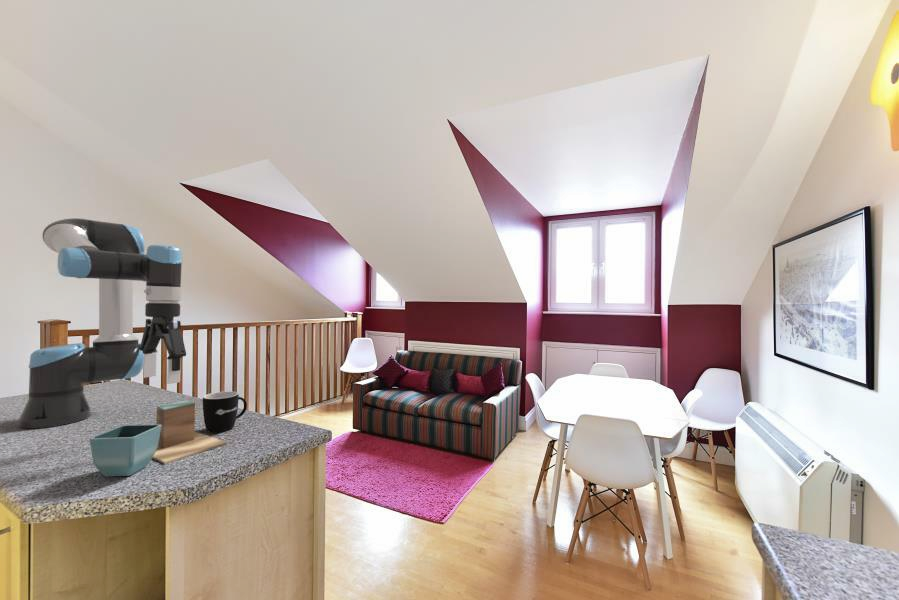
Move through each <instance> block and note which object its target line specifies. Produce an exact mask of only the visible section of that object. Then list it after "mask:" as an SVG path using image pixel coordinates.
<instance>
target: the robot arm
mask: <svg viewBox="0 0 899 600" xmlns="http://www.w3.org/2000/svg"><path fill="white" fill-rule="evenodd" d="M42 241H43V242H44V244H45V245H46V246H47V248H49V249H50V250H51V251H53V252H55V253H58V256H57V269H58V274H60V275H61V276H62V277H65V278H66V277H67V278H77V279H98V294H99V295H98V305H99V306H98V337H97V338H95V339H94V340H93V341H92V347H91V346H90V347H88V346H87V347H86V344H85V343H82V342H81V343H68V344H61V345H55V346H49V347H48V346H47V347H43V348H40V349H36V350H34V351H33V352H32V353H30V355H29V363H28V368H29V379H28V400H27V402H26V404H25V406H24V408H23V411H22V413H21V414H20V417H19V418H18V419H19V420H18V427H19V428H22V429H41V428H49V427H57V426H64V425H69V424H73V423H76V422H80V421H83V420H86V419H87V418H90V417H91V413H92V412H91V411H92V409H91V407H90V404H89V402H88V399H87V397H86V395H85V393H84V385H85V384H90V383H100V382H107V381H108V382H109V381H117V380H120V381H121V380H124V379H129V378H134V377H136V376H138V375H139V374H140V373H141V372H142V370H143V372H142V374H143V375H142V377H143V378H144V379H145V378H152V377H157V355H158V350H157V348H158V346H159V344H160V342H161V340H163V342H164V345H165V348H166V350H167V354H168V356H167V358H166V360H167V367H166V368H167V373H166V374H167V375H166V384H167V385H171V384H177V383H181V369H182V368H181V367H182V366H181V365H182V364H181V363H182V361H181V360H182V358H183V357H186V356H187V351H186V347H185V342H184V338H183V337H184V336H183V333H182V325H181V323H182V322H181V320H174V318H177V317H180V316H181V304H180V303H179V302H180V301H182V300H181V299H182V298H181V297H182V296H181V295H182V287H181V286H182V285H181V284H182V263H183V258H182V250H181V248H179V247H177V246H172V245H161V244H152V245H148V246H147V249H146V245H145V239H144V236H143V234H142V232H141V231H140V230H139V228H137V227H135V226H133V225H132V226H131V225H126V224H124V223H123V224H122V223H115V222H107V221H100V220H99V221H98V220H93V219H92V220H91V219H86V218H64V219H60V220H56V221H54V222H51V223H50V224H48V225H47V226H45V228H44V229H43V230H42ZM145 251H146V254H145ZM133 281H138V282H140V281H141V282H145V285H146V286H145V288H146V289H144V290H143V292H144V293H145V301H147V303H145V306H144V307H145V308H144V309H145V313H144V314H145V315H144V316H145V317H148V318H146V319H145V327H144V330H143V335H142V337H141V338H142V339H141V342H140V343H139V338H138V337H136V336H135V335H134V331H133V327H134V326H133V325H134V324H133V321H134V320H133V317H134V316H133V306H134V305H133V300H134V299H133V294H134V293H133V292H134V291H133Z"/></svg>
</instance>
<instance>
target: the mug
mask: <svg viewBox="0 0 899 600" xmlns="http://www.w3.org/2000/svg"><path fill="white" fill-rule="evenodd" d="M239 400H240V401H242V403H243V409H242V410H241V412H240V413H239V414H238V408H239ZM247 407H248V402H247V400H246V399H245V397H244V398H243V397H242V396H239V393H238V392H237V391H230V390H229V391H227V390H226V391H217V392H211V393H208V394H205V395H204V396H202V414H203V422H204V427H205V430H206V431H207V432H208V433H211V434H218V433H224V432H228V431H230V430H232V429H233V428H234V427H235V425H236V421H237V420H238V419H239V418H241V417H242V416H243V415H244V414H245V413H246V410H247Z"/></svg>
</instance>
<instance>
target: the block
mask: <svg viewBox="0 0 899 600" xmlns="http://www.w3.org/2000/svg"><path fill="white" fill-rule="evenodd" d="M195 418H196V402H195V401H191V400H182V401H177V402H174V403H168V404H163V405H157V406H156V424H155V425H157V424H160V425H162V426H161V432H160V437H159V442H158V447H160V448H163V449H165V448H168V447H172V446H175V445H179V444H182V443H185V442H189V441H192V440H194V431H195V432H196V430H195V426H196V425H195V423H196V421H195V420H196V419H195Z"/></svg>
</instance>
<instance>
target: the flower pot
mask: <svg viewBox="0 0 899 600" xmlns="http://www.w3.org/2000/svg"><path fill="white" fill-rule="evenodd" d="M161 426H162V425H160V424H157V425H156V424H125V425H120V426H117V427H115V428H113V429H110V430H107V431H104V432H102V433H99V434H97V435H93V436H91V437H90V438H89V444H90V451H91V457H92V462H93V464H94V466H95V467H96V469H97V470H98V471H99V473H100V474H102V475H103V476H104V477H128V476H132V475H134V474H135V473H137V472H139V471H141V470H142V469H144V468H146V467H147V466H148V465H149V463H150V462H151V461H152V457H153V456H154V454H155V452H156V449H157V446H158V442H159V437H160V432H161Z"/></svg>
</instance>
